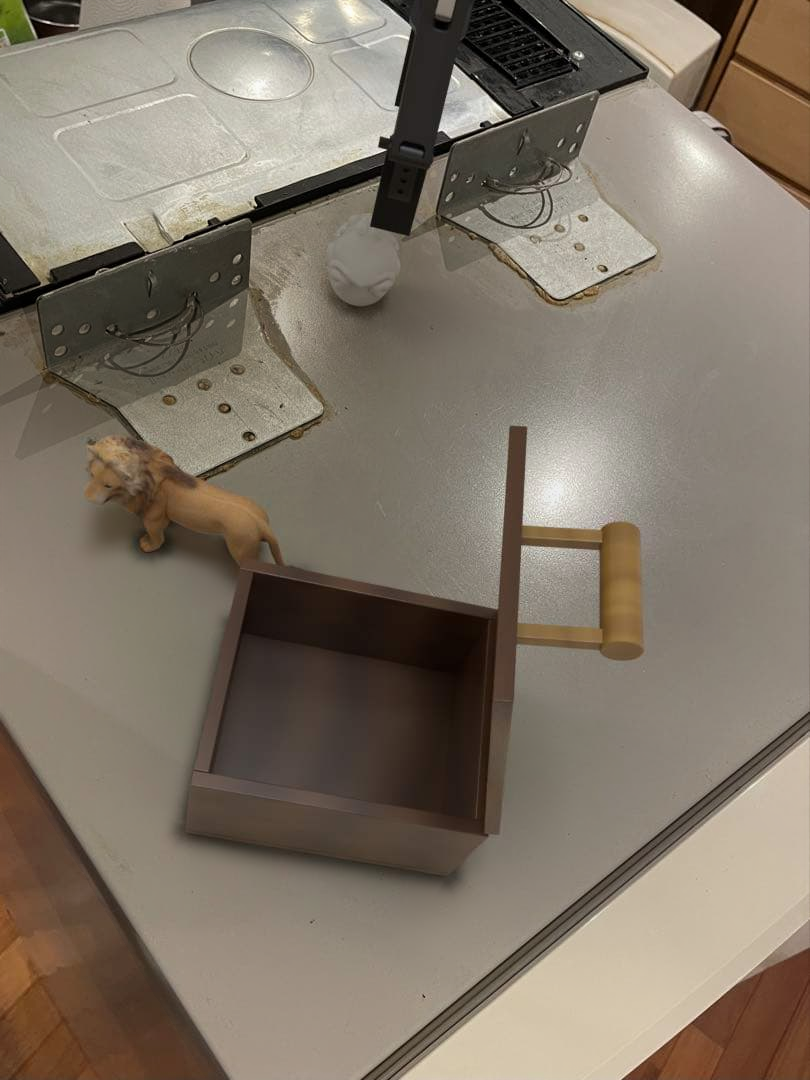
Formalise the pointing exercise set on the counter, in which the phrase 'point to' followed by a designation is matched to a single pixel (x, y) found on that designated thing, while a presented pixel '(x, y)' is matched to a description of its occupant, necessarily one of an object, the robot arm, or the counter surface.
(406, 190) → the robot arm
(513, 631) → the chest lid
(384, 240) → the frog figurine
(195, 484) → the lion figurine
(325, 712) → the chest
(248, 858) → the counter surface
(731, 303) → the counter surface
